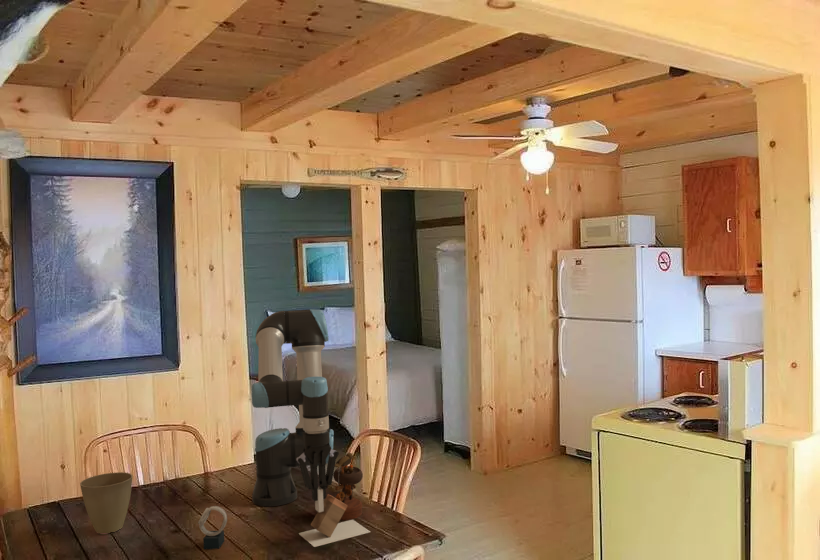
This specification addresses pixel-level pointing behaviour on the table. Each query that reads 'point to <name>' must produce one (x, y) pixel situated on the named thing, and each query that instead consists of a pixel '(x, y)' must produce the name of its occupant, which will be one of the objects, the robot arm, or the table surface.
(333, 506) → the walnut block
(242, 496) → the table surface
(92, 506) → the plant pot
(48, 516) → the table surface
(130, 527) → the table surface
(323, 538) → the mat
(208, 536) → the watch
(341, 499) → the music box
